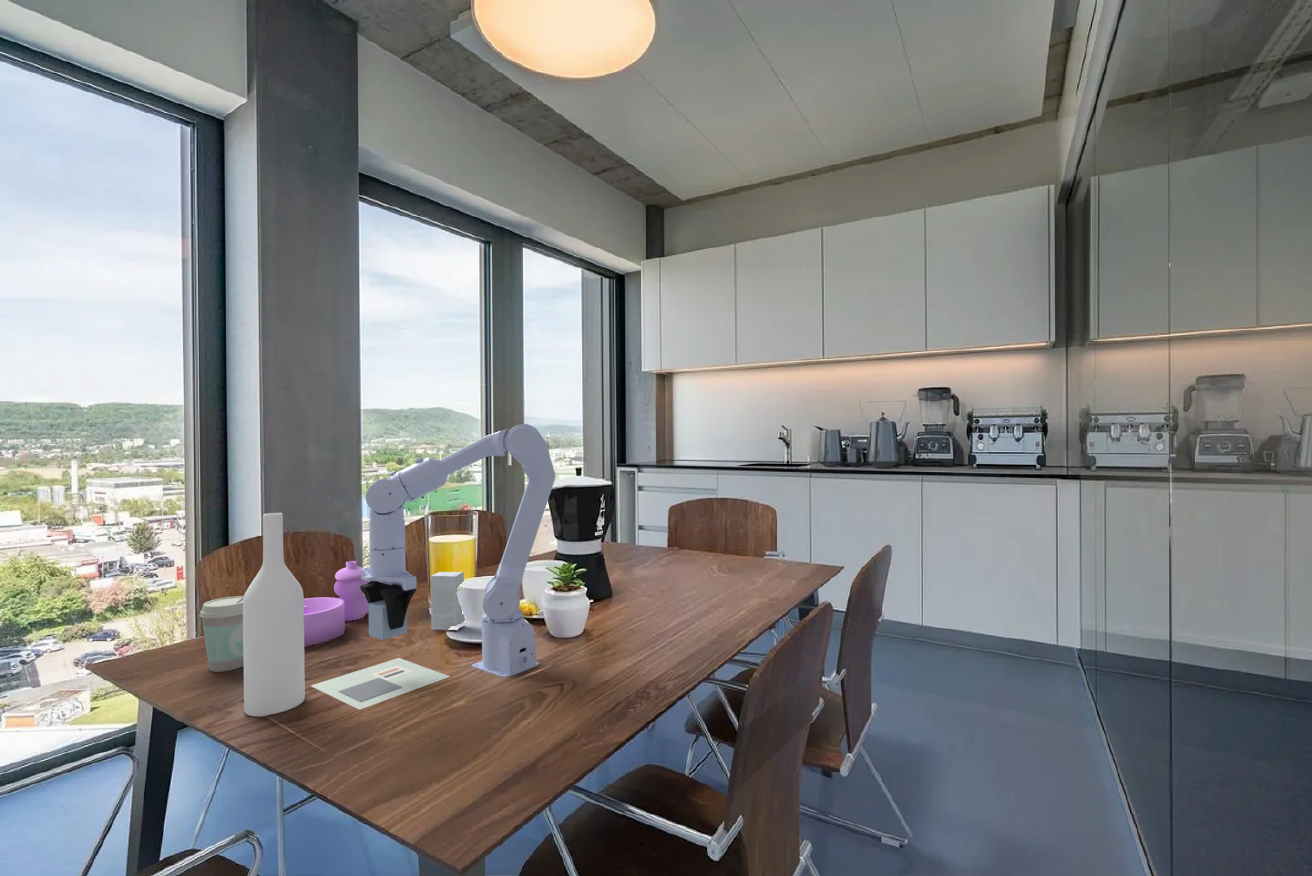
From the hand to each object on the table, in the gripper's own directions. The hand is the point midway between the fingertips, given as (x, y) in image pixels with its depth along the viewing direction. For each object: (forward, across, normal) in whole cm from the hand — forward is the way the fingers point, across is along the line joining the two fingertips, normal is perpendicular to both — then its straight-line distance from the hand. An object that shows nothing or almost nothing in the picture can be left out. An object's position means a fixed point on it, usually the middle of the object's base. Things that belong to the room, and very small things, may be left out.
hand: (388, 625), depth 108 cm
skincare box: (+9, -16, +23) cm, 29 cm away
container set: (+9, -38, +6) cm, 40 cm away
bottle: (+9, -3, -17) cm, 19 cm away
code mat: (+9, +2, -2) cm, 9 cm away
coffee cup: (+9, -29, -14) cm, 34 cm away
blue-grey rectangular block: (+2, 0, 0) cm, 2 cm away
